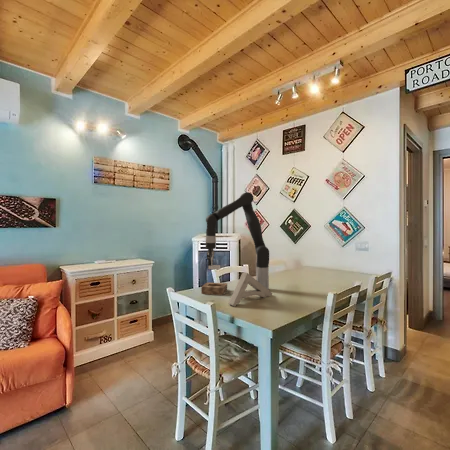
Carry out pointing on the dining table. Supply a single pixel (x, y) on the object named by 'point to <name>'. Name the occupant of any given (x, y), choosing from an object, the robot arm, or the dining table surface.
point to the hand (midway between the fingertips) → (210, 265)
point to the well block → (214, 288)
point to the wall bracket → (241, 292)
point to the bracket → (215, 267)
